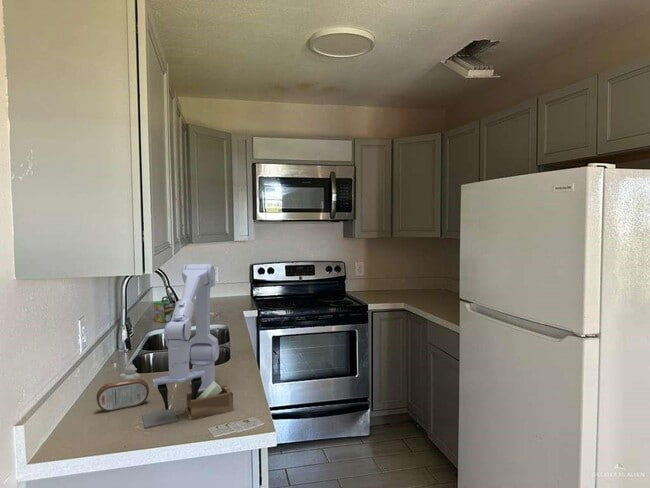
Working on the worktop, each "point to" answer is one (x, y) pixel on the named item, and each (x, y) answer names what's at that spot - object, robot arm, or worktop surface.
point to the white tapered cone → (130, 373)
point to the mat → (159, 418)
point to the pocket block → (209, 404)
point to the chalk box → (163, 310)
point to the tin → (122, 394)
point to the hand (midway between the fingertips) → (180, 405)
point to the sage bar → (211, 390)
